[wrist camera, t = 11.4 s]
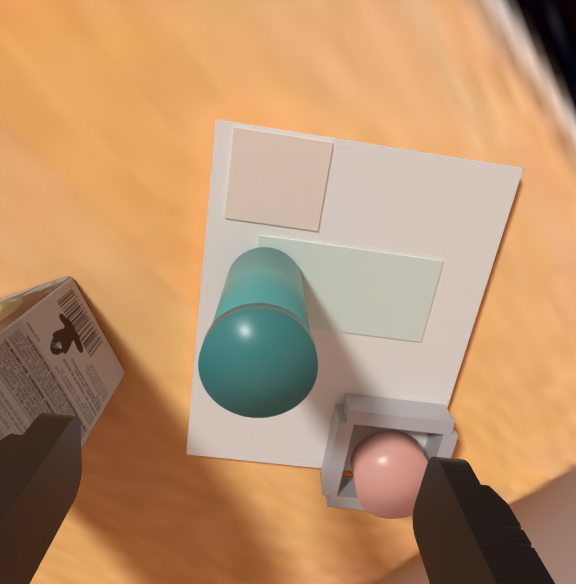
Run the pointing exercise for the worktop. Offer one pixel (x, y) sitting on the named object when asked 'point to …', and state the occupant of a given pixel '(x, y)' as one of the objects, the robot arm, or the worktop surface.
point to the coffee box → (53, 358)
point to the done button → (388, 473)
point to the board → (353, 287)
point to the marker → (260, 338)
